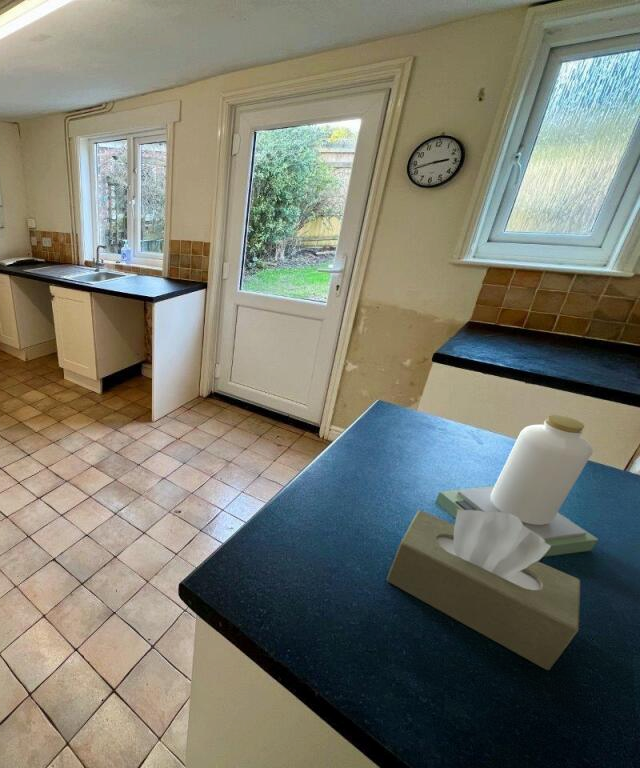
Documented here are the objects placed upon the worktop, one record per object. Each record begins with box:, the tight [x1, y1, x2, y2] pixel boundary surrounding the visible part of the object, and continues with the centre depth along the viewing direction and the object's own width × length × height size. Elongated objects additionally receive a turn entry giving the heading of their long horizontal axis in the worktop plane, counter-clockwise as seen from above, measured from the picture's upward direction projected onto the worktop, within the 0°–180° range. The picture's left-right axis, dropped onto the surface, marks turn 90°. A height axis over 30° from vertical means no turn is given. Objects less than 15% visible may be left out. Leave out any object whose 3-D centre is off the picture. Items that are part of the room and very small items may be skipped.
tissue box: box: [386, 508, 582, 671], centre depth 56 cm, size 19×10×16 cm, turn 44°
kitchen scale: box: [434, 485, 599, 558], centre depth 72 cm, size 16×14×3 cm
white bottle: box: [491, 414, 593, 525], centre depth 68 cm, size 8×8×18 cm
